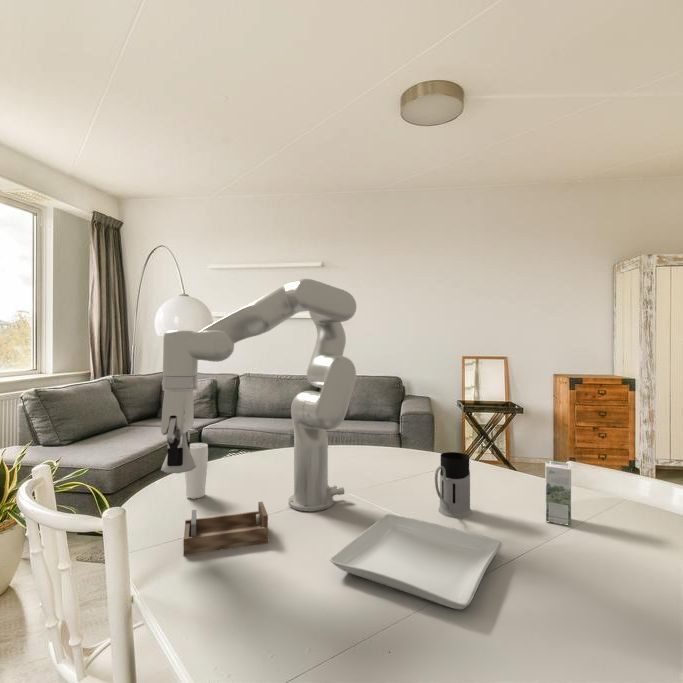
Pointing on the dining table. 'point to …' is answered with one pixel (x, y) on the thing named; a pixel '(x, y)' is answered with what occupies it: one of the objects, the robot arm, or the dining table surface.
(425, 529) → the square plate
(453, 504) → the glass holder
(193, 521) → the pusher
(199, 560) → the dining table surface
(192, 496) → the drinking glass
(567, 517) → the syrup box
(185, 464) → the flask
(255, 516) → the wooden tray
